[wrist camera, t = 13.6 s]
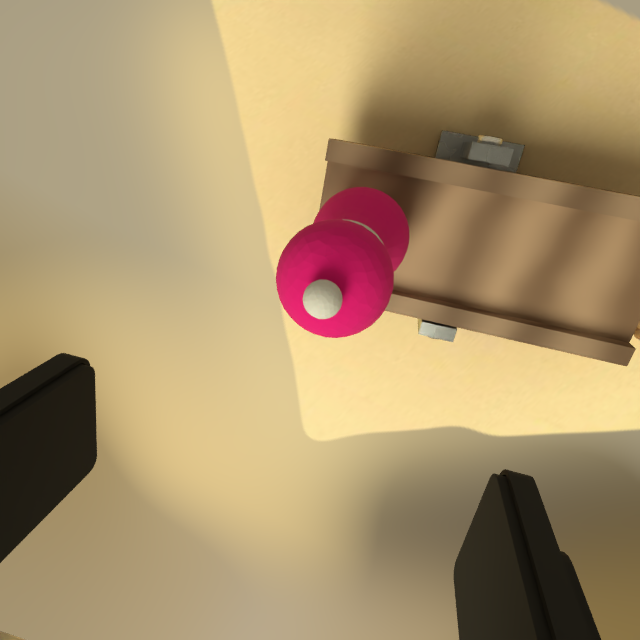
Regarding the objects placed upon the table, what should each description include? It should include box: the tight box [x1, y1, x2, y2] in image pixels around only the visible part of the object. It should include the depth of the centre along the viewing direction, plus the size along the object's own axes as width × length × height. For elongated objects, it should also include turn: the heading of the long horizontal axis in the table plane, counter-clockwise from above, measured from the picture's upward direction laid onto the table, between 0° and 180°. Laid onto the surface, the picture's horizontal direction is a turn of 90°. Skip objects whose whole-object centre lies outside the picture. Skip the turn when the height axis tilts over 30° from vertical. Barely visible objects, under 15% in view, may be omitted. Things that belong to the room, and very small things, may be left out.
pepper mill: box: [276, 187, 410, 338], centre depth 29 cm, size 7×7×20 cm
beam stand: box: [418, 130, 525, 342], centre depth 39 cm, size 7×17×7 cm, turn 170°
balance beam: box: [319, 139, 640, 366], centre depth 37 cm, size 27×13×3 cm, turn 80°
